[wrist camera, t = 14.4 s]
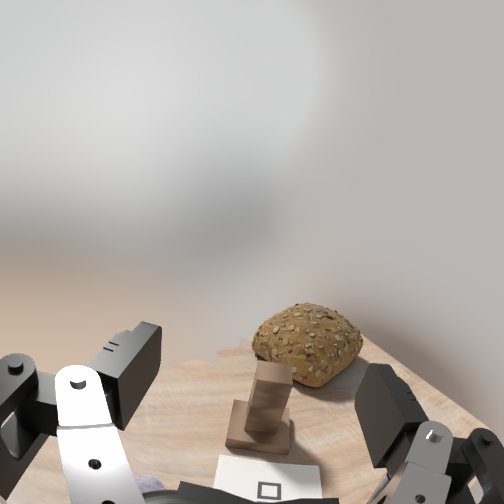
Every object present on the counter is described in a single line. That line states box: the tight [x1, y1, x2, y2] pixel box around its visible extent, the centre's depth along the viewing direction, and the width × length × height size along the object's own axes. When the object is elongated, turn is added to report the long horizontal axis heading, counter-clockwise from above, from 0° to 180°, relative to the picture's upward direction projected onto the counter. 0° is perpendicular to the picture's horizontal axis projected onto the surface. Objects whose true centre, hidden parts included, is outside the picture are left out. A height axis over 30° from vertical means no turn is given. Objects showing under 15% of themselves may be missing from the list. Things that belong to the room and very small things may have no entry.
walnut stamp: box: [225, 360, 293, 455], centre depth 38 cm, size 9×9×12 cm
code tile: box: [213, 455, 323, 503], centre depth 26 cm, size 14×14×1 cm
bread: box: [252, 303, 363, 387], centre depth 63 cm, size 24×21×12 cm
